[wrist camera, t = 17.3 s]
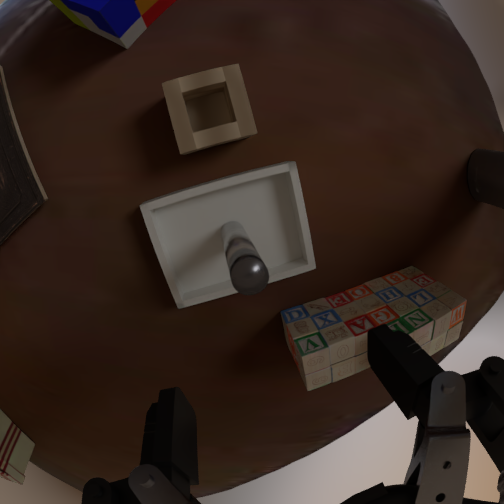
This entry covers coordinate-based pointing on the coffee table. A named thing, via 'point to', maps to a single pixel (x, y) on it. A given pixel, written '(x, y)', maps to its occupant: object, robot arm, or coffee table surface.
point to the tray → (220, 212)
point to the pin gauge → (243, 260)
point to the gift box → (13, 450)
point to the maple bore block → (209, 108)
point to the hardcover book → (15, 171)
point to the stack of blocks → (369, 323)
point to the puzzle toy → (114, 16)
